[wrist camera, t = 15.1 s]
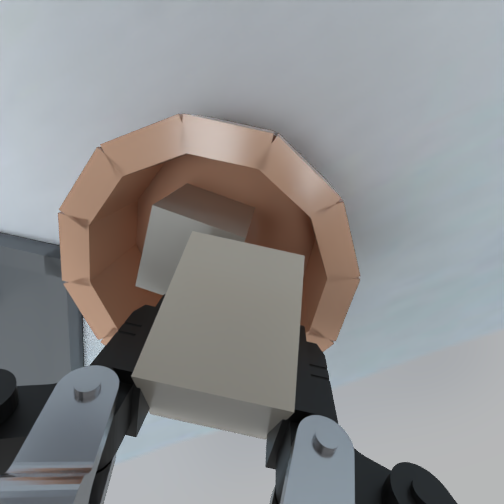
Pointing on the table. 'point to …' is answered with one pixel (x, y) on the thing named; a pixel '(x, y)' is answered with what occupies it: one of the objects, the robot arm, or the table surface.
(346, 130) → the table surface
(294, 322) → the off-white cubic block
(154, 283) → the pale grey cuboid
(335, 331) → the bowl
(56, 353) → the tray
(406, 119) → the table surface
